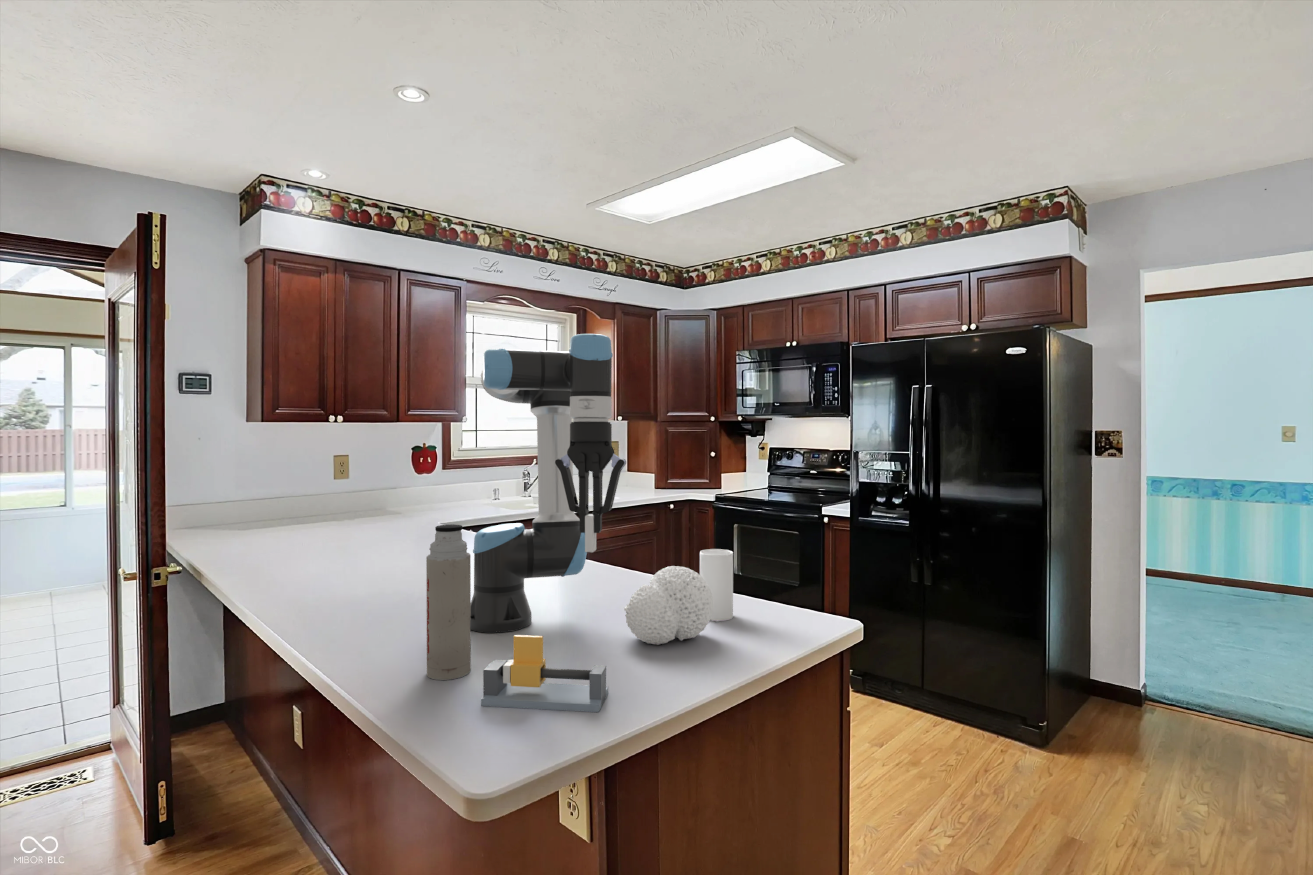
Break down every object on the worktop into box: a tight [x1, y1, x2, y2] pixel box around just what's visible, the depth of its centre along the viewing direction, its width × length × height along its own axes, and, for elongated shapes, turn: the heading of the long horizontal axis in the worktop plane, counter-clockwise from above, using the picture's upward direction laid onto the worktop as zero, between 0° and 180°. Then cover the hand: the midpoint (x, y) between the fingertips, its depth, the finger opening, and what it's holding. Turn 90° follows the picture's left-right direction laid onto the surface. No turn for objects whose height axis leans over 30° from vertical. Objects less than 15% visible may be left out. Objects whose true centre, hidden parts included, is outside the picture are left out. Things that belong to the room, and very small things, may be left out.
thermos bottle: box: [425, 524, 472, 681], centre depth 127 cm, size 8×8×28 cm
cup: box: [699, 548, 734, 622], centre depth 165 cm, size 8×8×16 cm
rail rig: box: [480, 659, 609, 713], centre depth 114 cm, size 20×8×6 cm, turn 83°
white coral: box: [623, 565, 713, 646], centre depth 147 cm, size 20×18×16 cm
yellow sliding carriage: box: [511, 634, 547, 687], centre depth 114 cm, size 5×4×8 cm
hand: (590, 550), depth 121 cm, fingers closed
